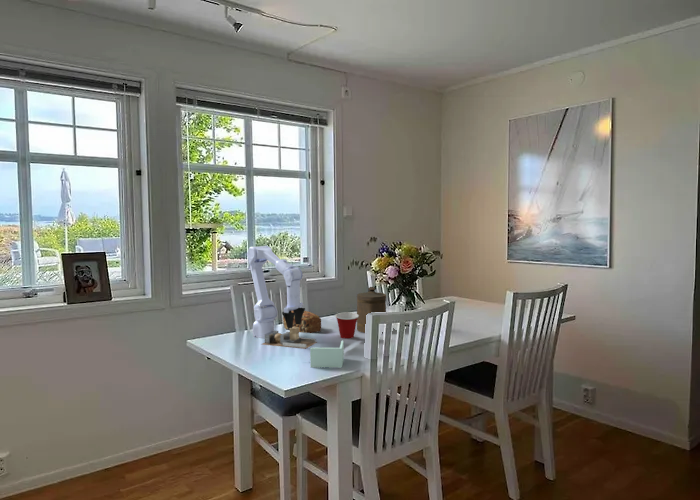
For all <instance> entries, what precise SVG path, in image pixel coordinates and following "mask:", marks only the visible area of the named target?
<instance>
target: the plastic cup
mask: <svg viewBox="0 0 700 500" xmlns="http://www.w3.org/2000/svg"><path fill="white" fill-rule="evenodd" d="M358 317H359V316H358V314H357V312H356V313H354V312H351V311H349V312H348V311H347V312H345V311H344V312H339V313H336V314H335V318H336V321H337V327H338V332H339V336H340V338H341V339H352V338H354V337H355V334H356V333H355V332H356V328H357V318H358Z"/></svg>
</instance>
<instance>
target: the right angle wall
mask: <svg viewBox="0 0 700 500" xmlns="http://www.w3.org/2000/svg"><path fill="white" fill-rule="evenodd" d="M344 345H345V342H344V340H341V341H340V345H339V347H310V348H309V349H310V350H309V351H310V352H309V353H310V354H309V355H310V357H309V358H310V359H309V361H310V368H314V369H315V368H318V369H319V368H320V367H321V368H322V367H324V368H323V369H326V368H325V367H329V368H333V369H334V368H338V369H340V368H341V369H343V365H344V364H343V363H344V358H345V353H344V352H345V347H344ZM329 368H328V369H329Z"/></svg>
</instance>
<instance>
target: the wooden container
mask: <svg viewBox="0 0 700 500" xmlns="http://www.w3.org/2000/svg"><path fill="white" fill-rule="evenodd" d="M375 290H376V287H374V286H369V287H368V291H367V292H360V293H358V294H356V297H357V299H356V314H358V316H359V317H358V318H357V322H356V330H357V331H358V332H360V333H363V334H366V333H365V324H366V315H367V314H368V313H371V312H386V313H387V294H386V293H384V292H376V291H375Z"/></svg>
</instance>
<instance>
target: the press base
mask: <svg viewBox="0 0 700 500" xmlns="http://www.w3.org/2000/svg"><path fill="white" fill-rule="evenodd" d="M277 333H279V330H274V331H271V332H269V333H267V334H265V339H264V342H263V343H261V345H264V346H274V347H283V348H292V349H293V348H294V349H301V350H302V349H304V350H306V349H308V348H309V347H310V348H311V346H313V345H315V344H317V343H318V341H317V339H316V338H309V337H308V338H307V337H301V342H300V343H289V342H283V344H281V343H276V341H275V339H274V337H275V335H276V334H277Z"/></svg>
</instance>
